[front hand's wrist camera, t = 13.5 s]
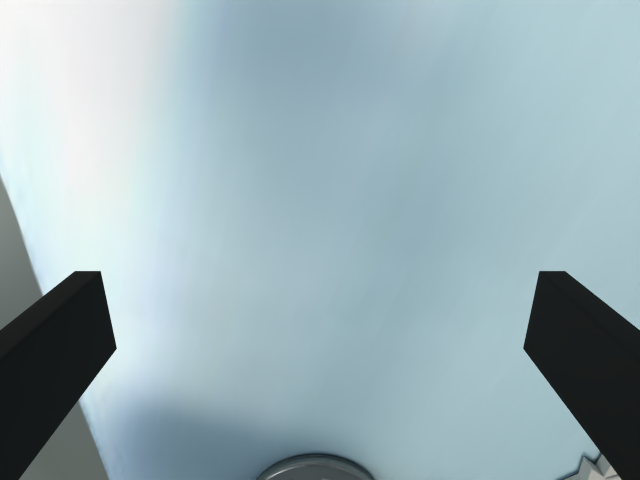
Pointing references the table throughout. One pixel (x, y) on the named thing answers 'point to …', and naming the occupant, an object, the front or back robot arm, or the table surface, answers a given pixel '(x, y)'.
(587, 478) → the decorative wreath
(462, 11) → the table surface
